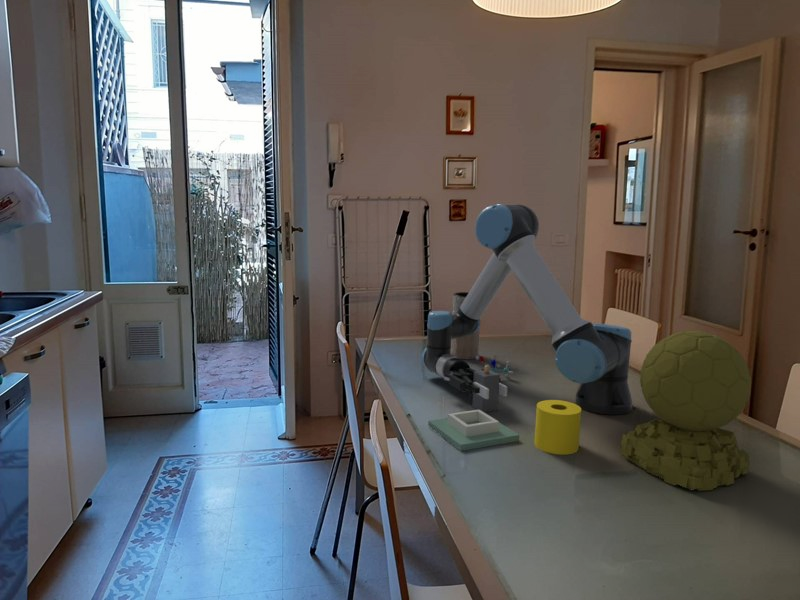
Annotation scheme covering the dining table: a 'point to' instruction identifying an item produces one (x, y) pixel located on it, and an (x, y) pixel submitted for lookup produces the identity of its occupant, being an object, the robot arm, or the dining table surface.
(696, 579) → the dining table surface
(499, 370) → the molecular model
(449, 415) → the board
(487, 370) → the plug
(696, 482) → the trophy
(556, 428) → the yellow hollow cylinder
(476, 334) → the planter
